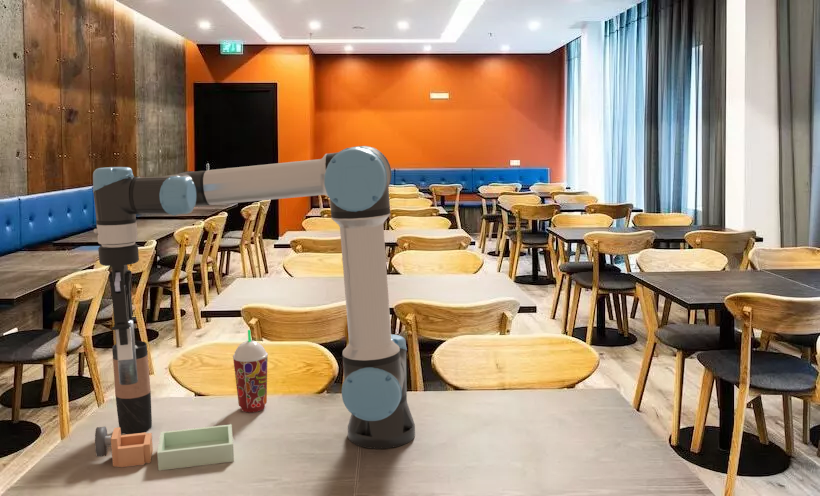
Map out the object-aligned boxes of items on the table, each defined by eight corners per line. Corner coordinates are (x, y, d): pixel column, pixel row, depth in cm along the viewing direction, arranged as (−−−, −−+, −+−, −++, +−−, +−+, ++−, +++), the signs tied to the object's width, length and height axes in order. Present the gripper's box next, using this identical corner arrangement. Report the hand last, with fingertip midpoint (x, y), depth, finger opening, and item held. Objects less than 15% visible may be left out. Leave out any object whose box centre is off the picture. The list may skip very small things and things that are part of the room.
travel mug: (141, 436, 172) (135, 350, 169) (111, 433, 174) (104, 349, 170) (159, 423, 180) (153, 341, 176) (129, 421, 181) (123, 339, 178)
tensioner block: (153, 449, 165) (150, 416, 164) (150, 463, 158) (148, 429, 157) (101, 455, 162) (98, 421, 161) (96, 470, 155) (93, 435, 154)
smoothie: (266, 414, 184) (262, 334, 181) (232, 415, 184) (227, 335, 181) (272, 402, 192) (269, 325, 189) (240, 402, 192) (236, 325, 189)
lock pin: (138, 378, 160) (134, 318, 158) (137, 384, 157) (132, 322, 155) (120, 380, 159) (115, 319, 157) (118, 385, 156) (113, 324, 154)
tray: (232, 440, 169) (231, 424, 168) (234, 461, 159) (233, 444, 158) (161, 448, 165) (160, 432, 165) (158, 470, 155) (157, 452, 154)
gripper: (103, 239, 160) (112, 346, 164) (92, 251, 144) (102, 370, 148) (141, 237, 162) (148, 343, 166) (133, 249, 146) (142, 366, 150)
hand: (126, 355), depth 157 cm, fingers closed on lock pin, 4 cm apart
